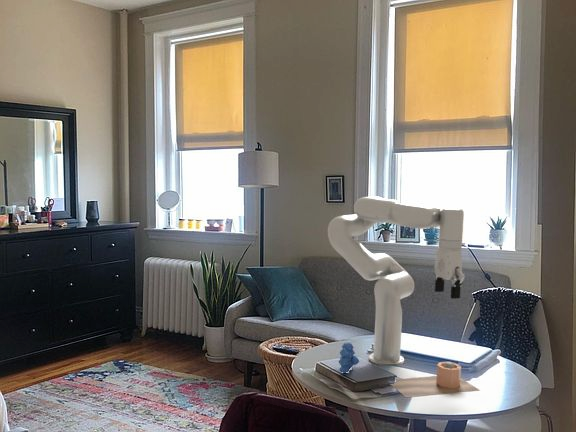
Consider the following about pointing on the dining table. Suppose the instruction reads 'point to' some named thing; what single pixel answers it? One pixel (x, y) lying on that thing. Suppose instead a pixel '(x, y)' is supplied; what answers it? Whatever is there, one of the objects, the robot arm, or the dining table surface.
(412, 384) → the stand
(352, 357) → the grapes
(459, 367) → the collar
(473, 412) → the dining table surface
